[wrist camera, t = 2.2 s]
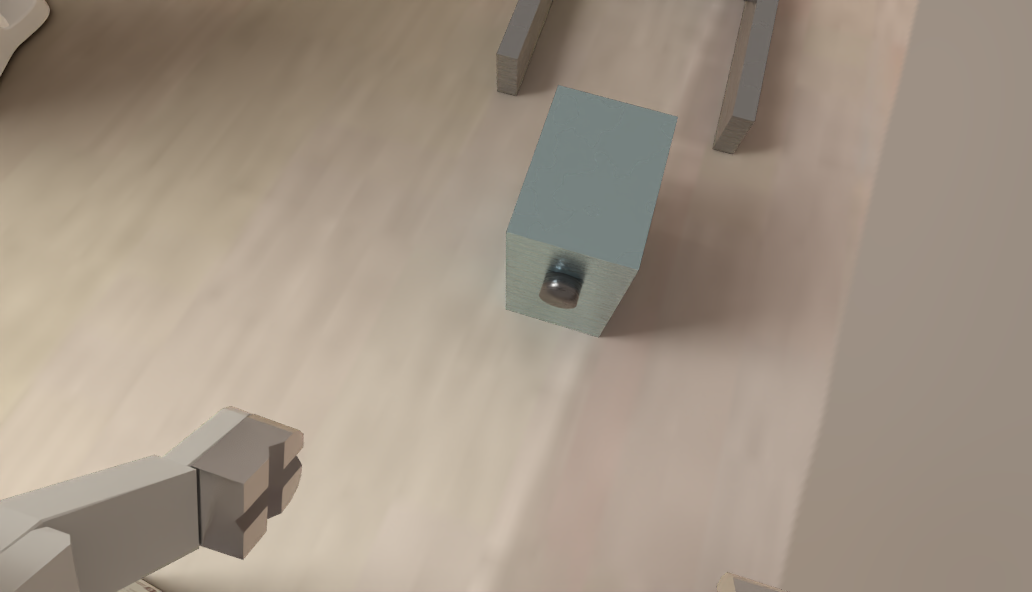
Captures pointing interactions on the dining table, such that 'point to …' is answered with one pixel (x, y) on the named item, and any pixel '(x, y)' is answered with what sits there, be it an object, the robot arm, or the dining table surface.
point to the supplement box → (140, 587)
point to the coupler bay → (741, 80)
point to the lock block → (585, 209)
